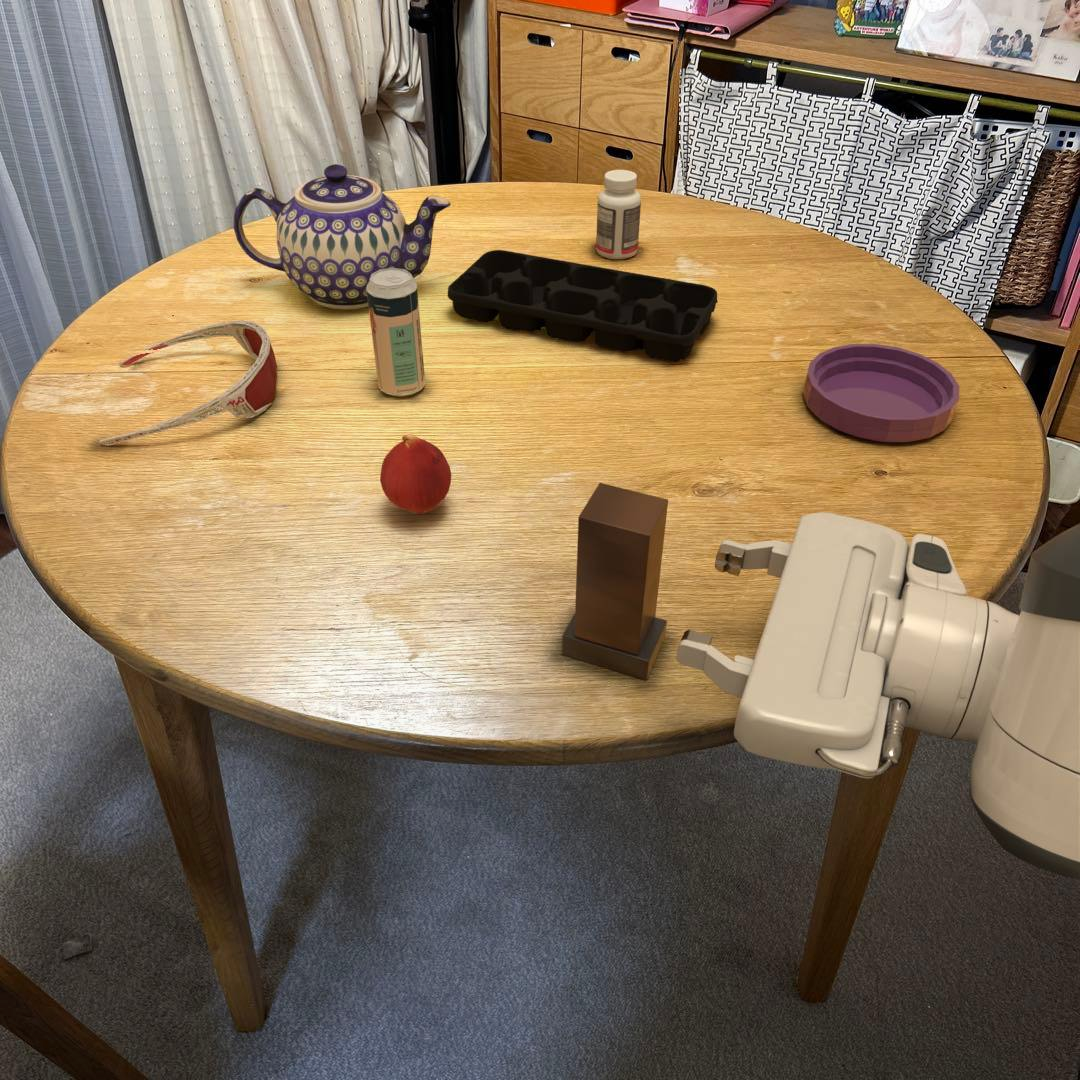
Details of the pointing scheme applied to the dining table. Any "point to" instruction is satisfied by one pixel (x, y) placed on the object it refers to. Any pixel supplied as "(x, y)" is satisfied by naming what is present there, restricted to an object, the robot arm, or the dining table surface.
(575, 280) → the black muffin tray
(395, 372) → the beer can
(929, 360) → the purple round dish
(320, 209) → the teapot
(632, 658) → the brown rectangular block
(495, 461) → the dining table surface
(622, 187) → the pill bottle
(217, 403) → the sunglasses
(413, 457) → the onion
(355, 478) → the dining table surface
